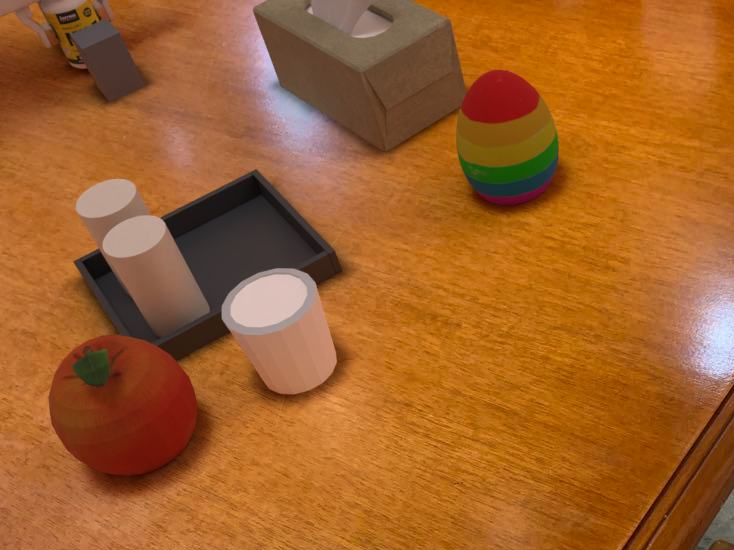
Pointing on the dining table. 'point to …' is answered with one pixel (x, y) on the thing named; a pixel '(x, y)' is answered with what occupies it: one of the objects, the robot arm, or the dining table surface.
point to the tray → (219, 257)
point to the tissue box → (366, 63)
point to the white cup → (282, 329)
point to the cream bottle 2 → (155, 273)
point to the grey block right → (107, 59)
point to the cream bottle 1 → (109, 210)
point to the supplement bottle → (69, 23)
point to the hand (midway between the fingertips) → (79, 32)
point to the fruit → (122, 405)
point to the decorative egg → (506, 139)
